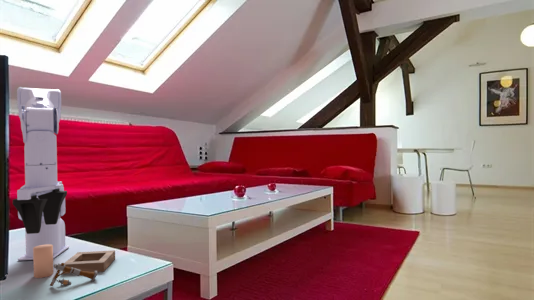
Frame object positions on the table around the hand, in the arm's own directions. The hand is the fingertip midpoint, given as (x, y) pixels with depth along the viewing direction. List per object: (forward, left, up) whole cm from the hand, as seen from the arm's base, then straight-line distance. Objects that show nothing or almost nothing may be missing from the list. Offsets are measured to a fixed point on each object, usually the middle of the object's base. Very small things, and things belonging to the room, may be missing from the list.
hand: (42, 228), depth 73 cm
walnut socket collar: (-4, +8, -10) cm, 13 cm away
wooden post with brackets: (+6, +9, -10) cm, 15 cm away
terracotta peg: (0, 0, -10) cm, 10 cm away
